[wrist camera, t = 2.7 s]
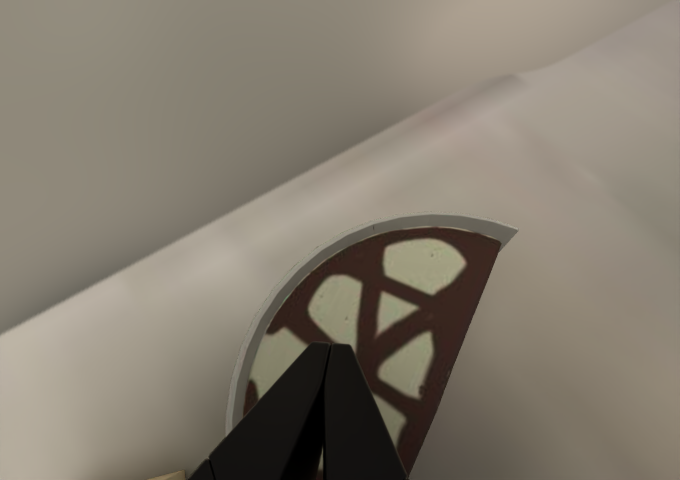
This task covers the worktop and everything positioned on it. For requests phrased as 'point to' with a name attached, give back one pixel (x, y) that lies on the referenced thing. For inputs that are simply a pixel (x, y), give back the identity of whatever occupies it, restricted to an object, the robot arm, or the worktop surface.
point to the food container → (378, 314)
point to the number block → (171, 476)
